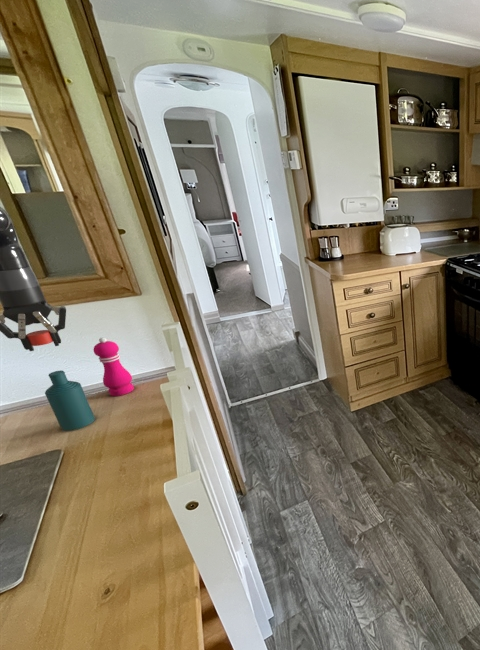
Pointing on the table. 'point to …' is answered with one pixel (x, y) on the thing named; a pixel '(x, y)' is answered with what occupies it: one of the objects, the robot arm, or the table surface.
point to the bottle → (68, 402)
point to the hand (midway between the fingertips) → (44, 347)
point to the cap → (40, 337)
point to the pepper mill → (113, 368)
